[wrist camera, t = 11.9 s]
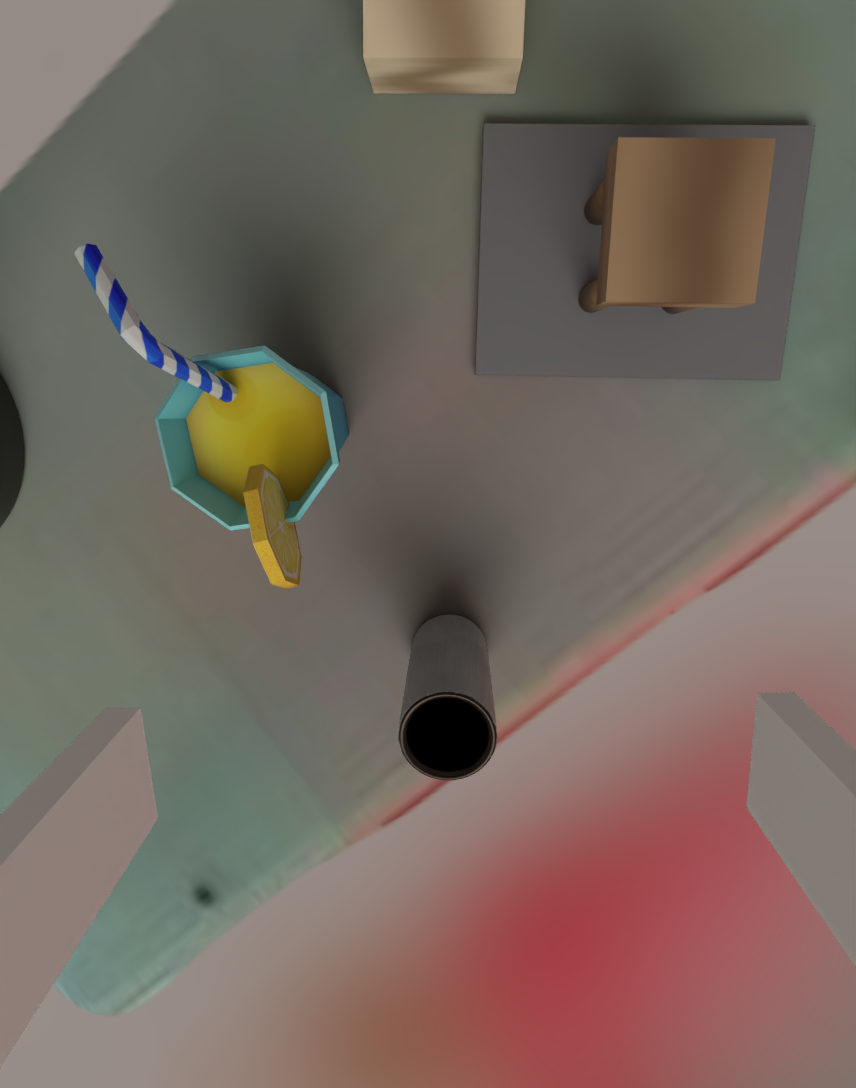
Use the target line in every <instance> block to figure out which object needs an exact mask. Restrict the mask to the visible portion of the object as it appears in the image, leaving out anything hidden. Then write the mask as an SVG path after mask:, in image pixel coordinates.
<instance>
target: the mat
mask: <svg viewBox="0 0 856 1088" xmlns="http://www.w3.org/2000/svg"><path fill="white" fill-rule="evenodd" d="M814 131H815V125H657V124H489V123H484V127H483V157H482V187H481V217H480V247H479V277H478V307H477V337H476V367H475V375H511V376H566V377H621V378H676V379H731V380H780V376H781V369H782V362H783V355H784V348H785V340H786V333H787V326H788V319H789V312H790V304H791V297H792V290H793V283H794V276H795V268H796V261H797V254H798V247H799V239H800V232H801V225H802V218H803V211H804V203H805V196H806V189H807V182H808V175H809V167H810V160H811V153H812V146H813V138H814ZM618 137H644V138H776V141H775V149H774V157H773V165H772V173H771V181H770V189H769V197H768V205H767V212H766V220H765V228H764V236H763V244H762V252H761V260H760V268H759V276H758V284H757V291H756V299H755V303H754V304H750V305H746V306H741V307H737V308H713V307H699V308H695V309H692V310H688V311H684V312H680V313H676V314H669V313H667V312H665V311H664V310H663V309H662V307H645V306H608V307H606V308H604V309H601V310H599V311H597V312H594V313H588V312H585V311H584V310H583V309H582V308H581V307H580V305H579V302H578V296H579V293H580V291H581V290H582V289H583V288H584V287H585V286H587V285H588V284H590V283H591V282H593V281H594V280H596V279H597V278H598V271H599V258H600V244H601V230H602V225H593V224H591V223H589V222H588V221H587V219H586V218H585V215H584V208H585V205H586V203H587V201H588V200H589V198H590V197H591V196H592V195H593V193H594V192H595V191H596V189H597V188H598V187H599V186H600V184H601V183H602V182H603V180H604V179H605V176H606V162H607V153H608V151H609V150H610V148H611V147H612V146H613V144H614V143H615V141H616V140H617V138H618Z"/></svg>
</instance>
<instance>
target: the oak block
mask: <svg viewBox="0 0 856 1088" xmlns="http://www.w3.org/2000/svg"><path fill="white" fill-rule="evenodd" d="M524 18H525V0H363V58H364V62H365V65H366V68H367V72H368V75H369V79H370V82H371V85H372V89H373V92H374V93H417V94H515V92H516V87H517V82H518V78H519V73H520V68H521V64H522V59H523V40H524Z"/></svg>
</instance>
